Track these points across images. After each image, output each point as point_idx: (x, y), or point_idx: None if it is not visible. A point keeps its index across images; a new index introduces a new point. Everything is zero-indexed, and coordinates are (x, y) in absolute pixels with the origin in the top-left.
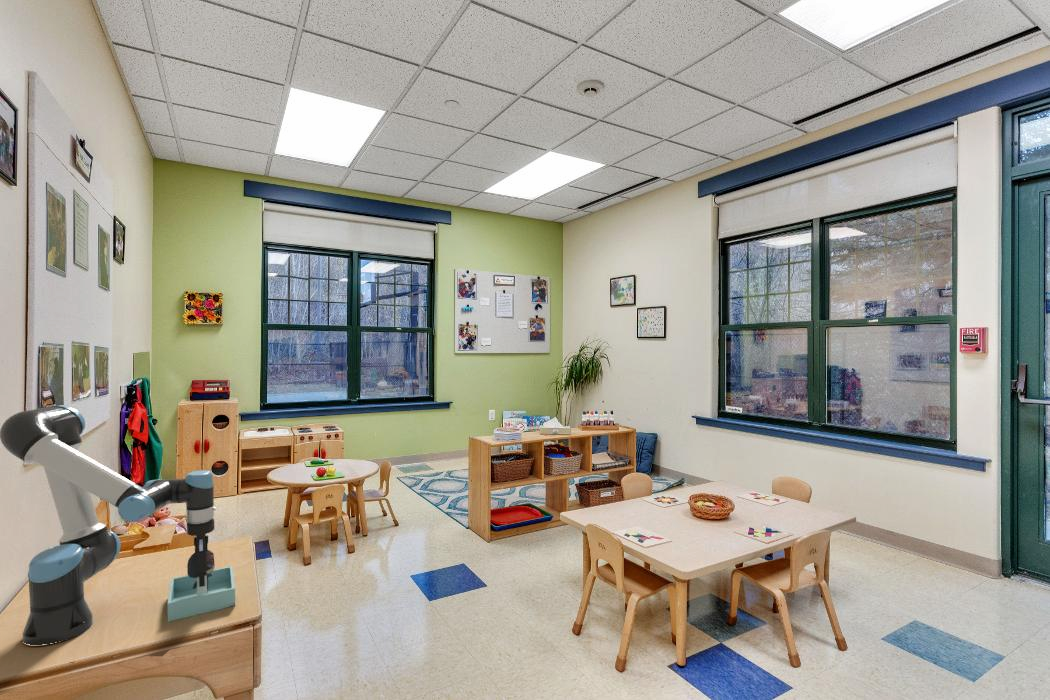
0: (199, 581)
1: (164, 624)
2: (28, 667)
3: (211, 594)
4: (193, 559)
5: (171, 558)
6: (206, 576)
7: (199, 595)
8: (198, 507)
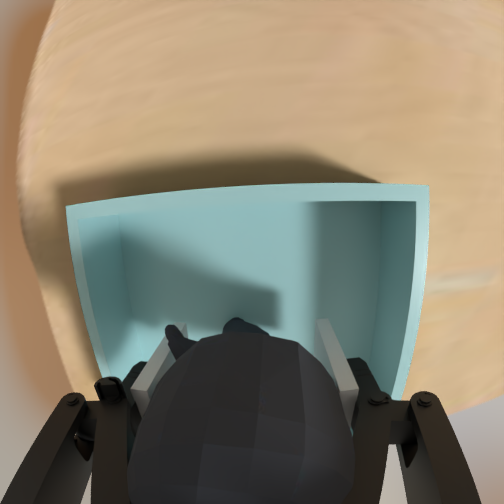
0: (123, 382)
1: (99, 190)
2: None
3: None
4: (134, 479)
5: None
6: None
7: (98, 345)
8: None
